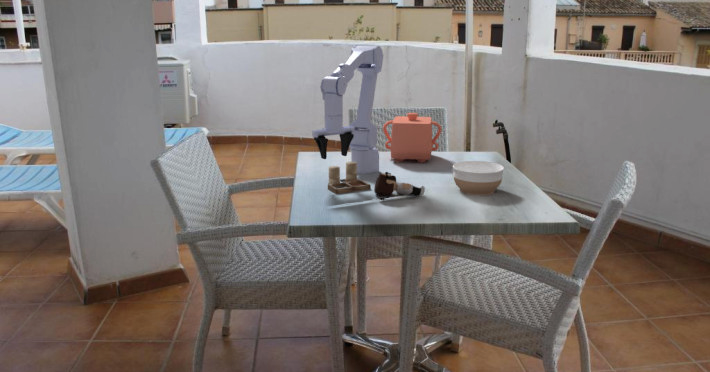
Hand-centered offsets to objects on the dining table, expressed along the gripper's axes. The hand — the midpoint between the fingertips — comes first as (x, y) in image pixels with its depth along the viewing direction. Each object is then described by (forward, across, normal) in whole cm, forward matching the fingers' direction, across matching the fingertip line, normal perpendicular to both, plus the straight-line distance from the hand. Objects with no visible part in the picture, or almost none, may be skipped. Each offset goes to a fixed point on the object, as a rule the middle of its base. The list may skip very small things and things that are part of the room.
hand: (334, 157), depth 194 cm
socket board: (+10, -1, +7) cm, 12 cm away
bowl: (+10, -36, +28) cm, 47 cm away
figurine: (+10, -10, +21) cm, 26 cm away
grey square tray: (+10, -6, +1) cm, 12 cm away
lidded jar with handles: (+10, -49, -21) cm, 54 cm away
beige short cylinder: (+9, -6, +1) cm, 11 cm away
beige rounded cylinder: (+10, 0, 0) cm, 10 cm away
